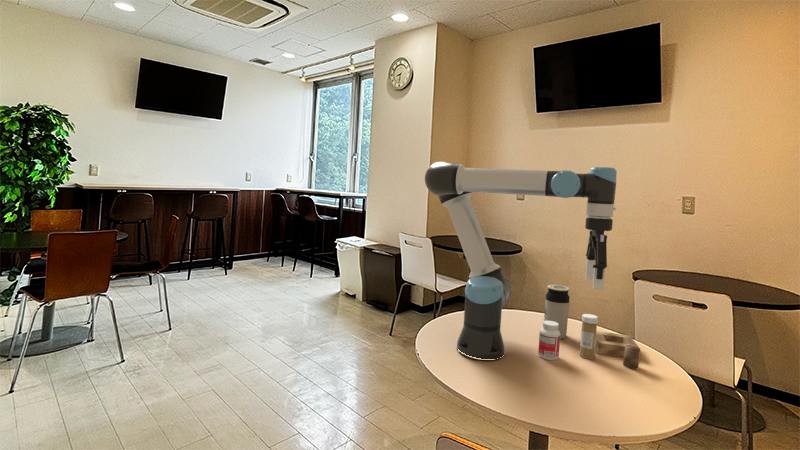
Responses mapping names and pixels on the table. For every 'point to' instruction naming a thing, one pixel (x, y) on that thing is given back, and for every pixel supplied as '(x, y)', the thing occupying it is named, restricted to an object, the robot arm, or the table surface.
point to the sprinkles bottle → (588, 336)
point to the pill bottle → (549, 340)
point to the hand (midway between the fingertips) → (593, 284)
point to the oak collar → (612, 343)
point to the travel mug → (557, 307)
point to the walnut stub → (631, 356)
